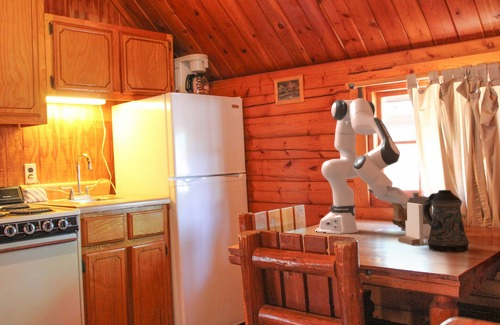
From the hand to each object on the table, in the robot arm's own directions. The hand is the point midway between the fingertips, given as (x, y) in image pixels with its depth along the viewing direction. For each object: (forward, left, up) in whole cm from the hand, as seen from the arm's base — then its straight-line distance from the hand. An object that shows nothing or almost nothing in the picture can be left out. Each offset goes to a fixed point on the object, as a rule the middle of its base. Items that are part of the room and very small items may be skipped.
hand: (401, 206), depth 222 cm
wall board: (+2, +8, -18) cm, 20 cm away
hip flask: (-1, +46, -18) cm, 49 cm away
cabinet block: (-1, 0, -6) cm, 6 cm away
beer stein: (+18, -1, -18) cm, 25 cm away
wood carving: (+7, +32, -18) cm, 37 cm away
